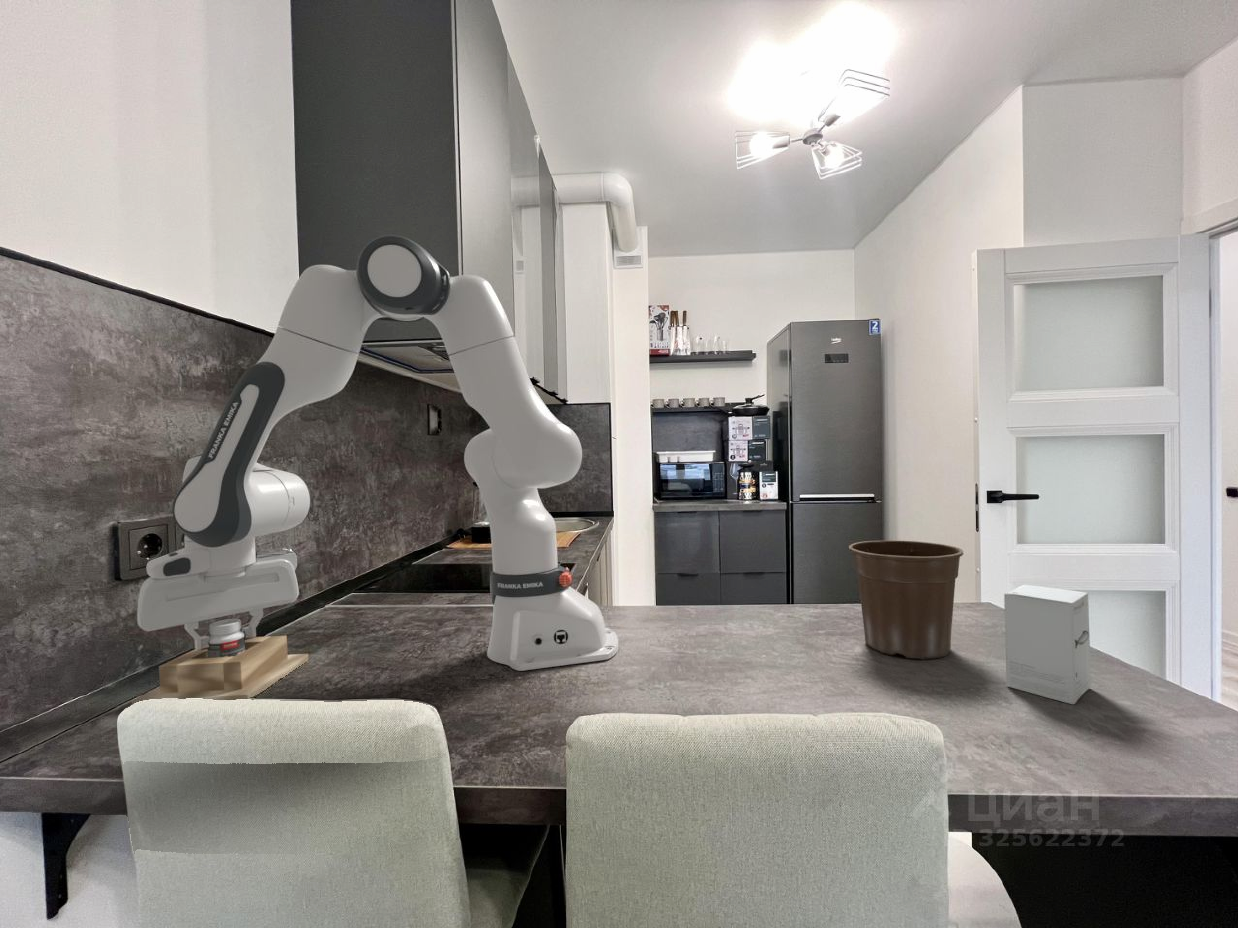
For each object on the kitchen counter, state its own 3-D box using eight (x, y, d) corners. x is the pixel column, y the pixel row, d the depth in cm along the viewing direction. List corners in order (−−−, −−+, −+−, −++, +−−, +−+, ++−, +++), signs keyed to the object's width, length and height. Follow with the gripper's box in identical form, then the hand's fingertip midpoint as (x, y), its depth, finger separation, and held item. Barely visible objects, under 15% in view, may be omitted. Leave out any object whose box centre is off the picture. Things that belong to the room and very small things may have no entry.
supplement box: (1076, 706, 65) (1072, 602, 65) (1004, 686, 71) (1001, 592, 71) (1093, 688, 70) (1090, 591, 70) (1024, 671, 76) (1021, 582, 76)
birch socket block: (308, 660, 93) (307, 630, 93) (247, 702, 77) (246, 666, 77) (213, 665, 92) (211, 635, 92) (132, 709, 76) (130, 673, 76)
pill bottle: (225, 682, 81) (222, 627, 81) (201, 681, 82) (198, 626, 82) (254, 670, 86) (251, 618, 86) (230, 668, 87) (227, 617, 87)
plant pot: (906, 625, 97) (903, 536, 97) (992, 655, 82) (988, 549, 82) (831, 638, 92) (828, 544, 92) (908, 672, 77) (904, 560, 77)
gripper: (290, 544, 94) (294, 623, 94) (132, 564, 79) (137, 658, 79) (302, 547, 89) (306, 629, 90) (138, 569, 74) (143, 668, 75)
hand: (226, 643), depth 84 cm, fingers closed on pill bottle, 5 cm apart
